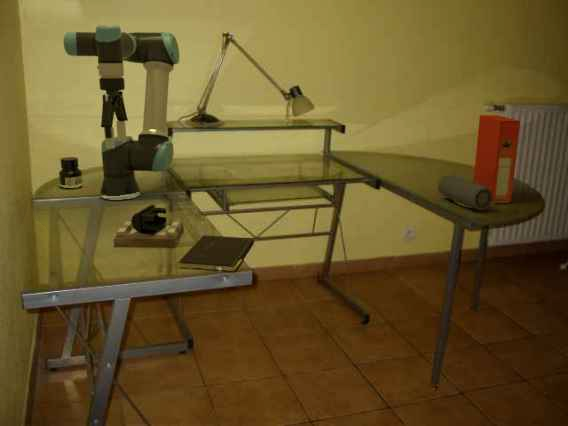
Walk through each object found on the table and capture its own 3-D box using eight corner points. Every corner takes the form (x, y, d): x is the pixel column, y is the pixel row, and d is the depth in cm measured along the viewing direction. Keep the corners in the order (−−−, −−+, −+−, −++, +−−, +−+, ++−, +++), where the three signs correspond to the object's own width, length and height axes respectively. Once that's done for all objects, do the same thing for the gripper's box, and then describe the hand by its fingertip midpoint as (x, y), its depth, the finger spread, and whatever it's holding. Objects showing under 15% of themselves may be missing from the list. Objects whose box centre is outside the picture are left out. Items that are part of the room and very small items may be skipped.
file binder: (490, 204, 224) (500, 120, 215) (471, 193, 241) (479, 115, 232) (510, 203, 225) (521, 120, 216) (490, 192, 242) (499, 115, 233)
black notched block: (146, 224, 186) (145, 203, 184) (167, 226, 184) (166, 205, 182) (131, 233, 177) (130, 212, 175) (153, 235, 175) (152, 214, 173)
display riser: (128, 229, 189) (127, 218, 188) (183, 230, 189) (183, 218, 188) (114, 246, 174) (113, 233, 173) (174, 247, 174) (174, 234, 173)
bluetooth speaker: (492, 212, 214) (495, 185, 211) (471, 214, 211) (474, 187, 208) (455, 196, 235) (457, 172, 232) (435, 198, 232) (437, 174, 229)
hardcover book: (178, 269, 159) (178, 261, 158) (203, 242, 180) (203, 235, 180) (235, 273, 156) (235, 265, 155) (254, 245, 178) (254, 238, 177)
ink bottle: (69, 190, 236) (66, 161, 233) (55, 187, 241) (52, 159, 238) (88, 186, 244) (85, 157, 241) (74, 183, 249) (71, 155, 245)
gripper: (111, 74, 194) (115, 138, 200) (86, 79, 170) (92, 151, 176) (133, 74, 194) (137, 138, 200) (112, 79, 170) (117, 151, 176)
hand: (116, 144), depth 188 cm, fingers open, 13 cm apart
